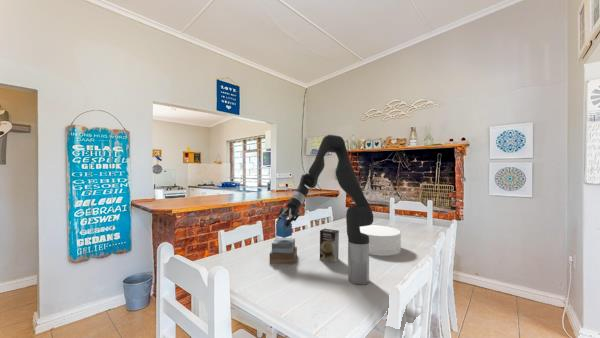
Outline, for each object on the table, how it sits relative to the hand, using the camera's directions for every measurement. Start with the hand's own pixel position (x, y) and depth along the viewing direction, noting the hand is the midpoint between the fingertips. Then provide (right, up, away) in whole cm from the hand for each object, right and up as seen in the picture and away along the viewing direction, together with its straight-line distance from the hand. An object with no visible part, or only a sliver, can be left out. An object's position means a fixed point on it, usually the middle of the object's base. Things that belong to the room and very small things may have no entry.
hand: (281, 224), depth 138 cm
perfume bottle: (+1, -6, +1) cm, 7 cm away
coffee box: (+26, -19, 0) cm, 32 cm away
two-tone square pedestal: (+1, -19, +1) cm, 19 cm away
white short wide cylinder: (+58, -20, +21) cm, 65 cm away
